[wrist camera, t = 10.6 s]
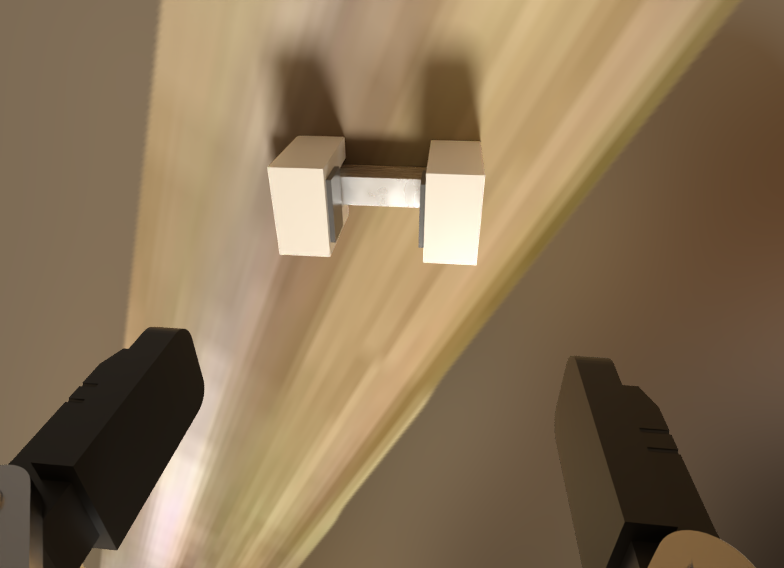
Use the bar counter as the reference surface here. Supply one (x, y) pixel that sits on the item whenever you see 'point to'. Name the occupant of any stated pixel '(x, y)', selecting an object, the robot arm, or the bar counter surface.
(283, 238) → the cream rectangular block
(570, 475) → the robot arm
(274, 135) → the bar counter surface
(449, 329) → the bar counter surface
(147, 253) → the bar counter surface
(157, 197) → the bar counter surface
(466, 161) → the block
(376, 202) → the rail
